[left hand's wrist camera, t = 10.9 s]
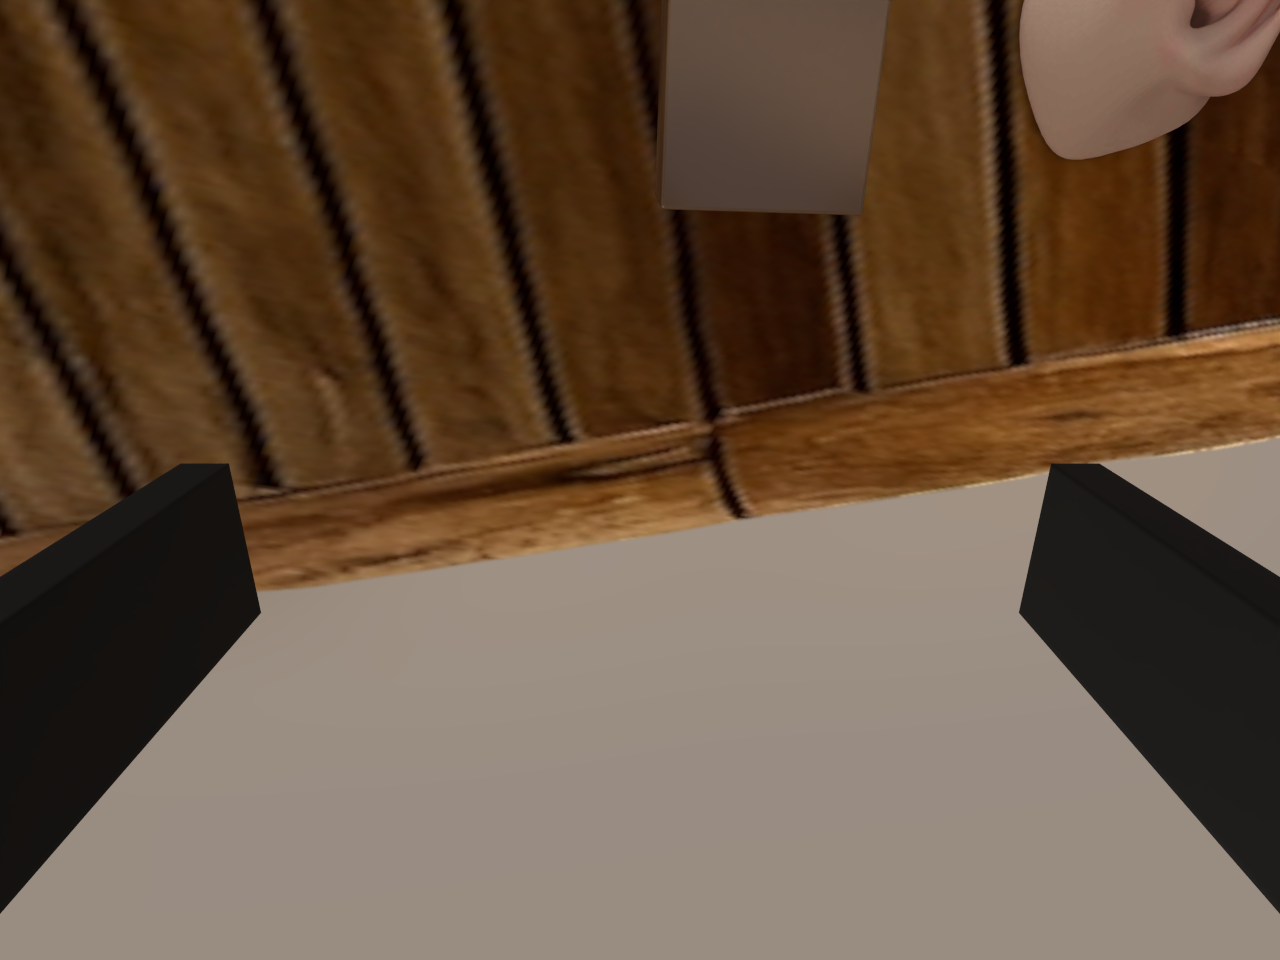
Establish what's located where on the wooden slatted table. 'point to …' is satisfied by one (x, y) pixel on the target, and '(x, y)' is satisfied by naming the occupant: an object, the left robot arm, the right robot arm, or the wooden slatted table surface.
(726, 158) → the bar
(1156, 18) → the anatomical model
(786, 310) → the wooden slatted table surface
